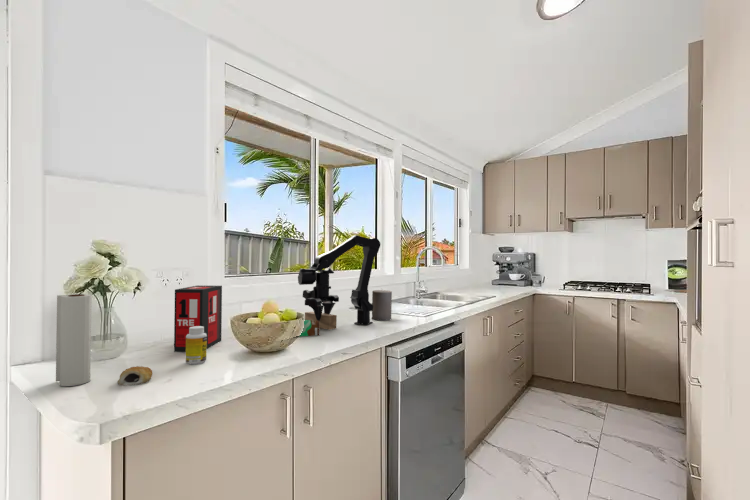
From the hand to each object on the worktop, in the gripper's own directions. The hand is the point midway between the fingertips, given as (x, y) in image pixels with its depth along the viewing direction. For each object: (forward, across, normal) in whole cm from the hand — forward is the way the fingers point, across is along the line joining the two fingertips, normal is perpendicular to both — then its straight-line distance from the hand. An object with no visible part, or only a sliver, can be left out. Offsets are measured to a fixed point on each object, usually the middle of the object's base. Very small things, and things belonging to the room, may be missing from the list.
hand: (322, 320), depth 173 cm
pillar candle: (+3, -32, +14) cm, 35 cm away
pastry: (+3, +82, -2) cm, 82 cm away
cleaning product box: (+3, +49, -18) cm, 52 cm away
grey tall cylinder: (+3, +90, -13) cm, 91 cm away
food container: (0, +12, +6) cm, 13 cm away
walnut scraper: (+3, 0, -1) cm, 4 cm away
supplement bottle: (+3, +64, -2) cm, 64 cm away
